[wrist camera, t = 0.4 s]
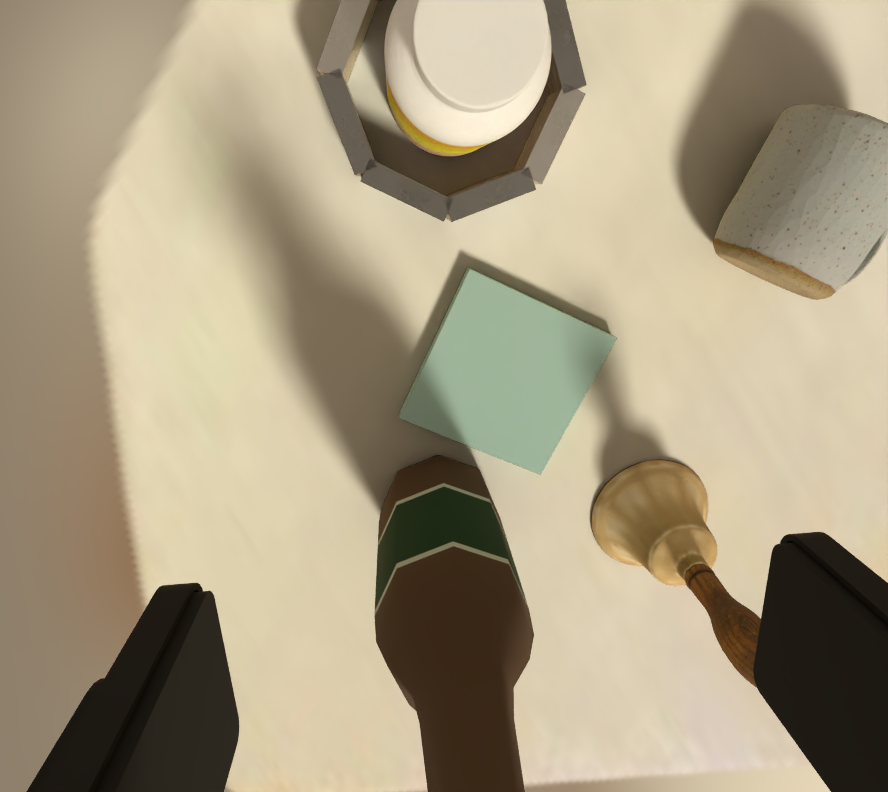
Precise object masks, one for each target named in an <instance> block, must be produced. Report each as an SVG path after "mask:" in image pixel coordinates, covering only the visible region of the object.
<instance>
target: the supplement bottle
mask: <svg viewBox="0 0 888 792" xmlns="http://www.w3.org/2000/svg"><path fill="white" fill-rule="evenodd" d="M384 58H385V69H386V88H387V97H388V103H389V107H390V110H391V113H392V115H393V118H394V120H395V122H396V124H397V125H398V127H399V128H400V130H401V131H402V132H403V134H404V135H405V136H406V137H407V138H408V139H409V140H410V141H411V142H412V143H414V144H415V145H416V146H418V147H419V148H421V149H423V150H425V151H427V152H429V153H432V154H435V155H440V156H460V155H464V154H468V153H470V152H473V151H475V150H477V149H479V148H481V147H483V146H485V145H487V144H489V143H491V142H494V141H496V140H498V139H500V138H502V137H504V136H505V135H507V134H508V133H510V132H511V131H513V130H514V129H515V128H517V127H518V126H519V125H520V124H521V123H522V122H523V121H524V120H525V119H526V118H527V117H528V116H529V114H530V113H531V112H532V110H533V109H534V107H535V106H536V104H537V102H538V101H539V99H540V97H541V95H542V92H543V90H544V87H545V85H546V82H547V78H548V75H549V70H550V64H551V35H550V29H549V24H548V17H547V12H546V8H545V4H544V1H543V0H397V1H396V3H395V5H394V8H393V10H392V12H391V15H390V18H389V22H388V26H387V30H386V35H385V46H384Z"/></svg>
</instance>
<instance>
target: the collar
mask: <svg viewBox="0 0 888 792" xmlns="http://www.w3.org/2000/svg"><path fill="white" fill-rule="evenodd" d="M380 1H383V0H341V2H340V5H339V8H338V10H337V13H336V16H335V19H334V21H333V24H332V27H331V30H330V32H329V35H328V38H327V41H326V44H325V46H324V49H323V52H322V55H321V57H320V60H319V63H318V66H317V69H318V71H319V72H320V74H321V75H322V76H319V77H317V79H318V82H319V84H320V87H321V89H322V92H323V95H324V97H325V100H326V102H327V105H328V107H329V110H330V113H331V115H332V118H333V120H334V123H335V125H336V128H337V131H338V133H339V136H340V138H341V141H342V143H343V146H344V148H345V151H346V154H347V156H348V159H349V161H350V164H351V166H352V169H353V172H354V174H355V175H356V176H359V175H362V174H363V177H362V179H361V182H363V183H365V184H367V185H369V186H371V187H373V188H375V189H377V190H379V191H381V192H384V193H386V194H388V195H390V196H392V197H394V198H396V199H398V200H400V201H402V202H404V203H406V204H408V205H411V206H413V207H415V208H417V209H419V210H421V211H423V212H425V213H427V214H429V215H431V216H433V217H435V218H437V219H440V220H442V221H444V220H445V218H447V219H448V220H449V221H451V222H453V221H455V220H458V219H461V218H463V217H466V216H468V215H471V214H474V213H476V212H479V211H481V210H484V209H487V208H489V207H492V206H494V205H497V204H500V203H502V202H505V201H508V200H510V199H513V198H515V197H518V196H521V195H523V194H526V193H528V192H531V191H534V190H536V188H535V185H534V184H542V183H543V181H544V178H545V176H546V174H547V172H548V170H549V168H550V166H551V164H552V162H553V160H554V158H555V156H556V154H557V152H558V150H559V148H560V145H561V143H562V141H563V139H564V137H565V135H566V133H567V131H568V129H569V127H570V125H571V123H572V121H573V119H574V117H575V115H576V112H577V110H578V108H579V106H580V104H581V102H582V100H583V98H584V96H585V93H583V92H581V91H579V90H578V89H580V88H582V87H584V86H585V85H586V81H585V77H584V73H583V69H582V65H581V61H580V57H579V53H578V49H577V45H576V41H575V37H574V33H573V29H572V25H571V21H570V17H569V13H568V9H567V5H566V1H565V0H543V1H544V4H545V8H546V12H547V17H548V24H549V29H550V35H551V64H550V70H549V75H548V78H547V82H546V85H545V88H546V92H547V95H548V97H547V99H546V101H545V103H544V105H543V108H542V110H541V112H540V114H539V116H538V118H537V120H536V122H535V125H534V127H533V129H532V131H531V133H530V135H529V137H528V140H527V142H526V144H525V146H524V148H523V150H522V152H521V154H520V157H519V159H518V161H517V163H516V165H515V167H514V169H513V170H512V171H509V172H506V173H504V174H501V175H499V176H496V177H493V178H491V179H488V180H486V181H483V182H480V183H478V184H475V185H473V186H470V187H467V188H465V189H462V190H460V191H457V192H454V193H452V194H449V195H447V196H445V195H443V194H441V193H439V192H437V191H435V190H433V189H431V188H429V187H427V186H425V185H422V184H420V183H418V182H416V181H414V180H412V179H410V178H408V177H406V176H404V175H402V174H400V173H398V172H396V171H394V170H392V169H390V168H388V167H386V166H384V165H382V164H380V163H378V162H376V160H375V158H374V155H373V152H372V150H371V147H370V144H369V142H368V139H367V136H366V134H365V131H364V128H363V126H362V123H361V120H360V118H359V115H358V112H357V110H356V107H355V104H354V102H353V99H352V96H351V94H350V91H349V88H348V86H347V83H348V80H349V77H350V75H351V72H352V69H353V67H354V64H355V61H356V59H357V56H358V53H359V51H360V48H361V45H362V43H363V40H364V38H365V35H366V32H367V30H368V27H369V24H370V22H371V19H372V16H373V14H374V11H375V8H376V6H377V3H378V2H380Z"/></svg>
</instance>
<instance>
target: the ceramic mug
mask: <svg viewBox="0 0 888 792" xmlns="http://www.w3.org/2000/svg"><path fill="white" fill-rule="evenodd" d="M887 233H888V123H886V122H884V121H881V120H879V119H877V118H875V117H872V116H870V115H867V114H864V113H861V112H857V111H853V110H846V109H842V108H839V107H836V106H831V105H818V104H801V105H794V106H791V107H788V108H787V109H785V110H784V111H783V112H782V113H781V114H780V116H779V118H778V120H777V121H776V123H775V125H774V127H773V129H772V130H771V132H770V134H769V136H768V138H767V139H766V141H765V143H764V145H763V146H762V148H761V150H760V152H759V153H758V155H757V157H756V159H755V160H754V162H753V164H752V166H751V168H750V170H749V171H748V173H747V175H746V177H745V179H744V181H743V182H742V184H741V186H740V188H739V190H738V192H737V193H736V195H735V196H734V198H733V200H732V201H731V203H730V204H729V206H728V208H727V209H726V211H725V213H724V215H723V217H722V219H721V221H720V224H719V227H718V229H717V232H716V234H715V238H714V241H713V246H714V249H715V252H716V254H717V255H718V256H720V257H721V258H723V259H724V260H726V261H728V262H729V263H731V264H733V265H735V266H737V267H739V268H741V269H743V270H745V271H747V272H749V273H751V274H753V275H755V276H757V277H759V278H761V279H763V280H765V281H768V282H770V283H772V284H774V285H776V286H779V287H781V288H783V289H786V290H788V291H791V292H793V293H796V294H798V295H801V296H803V297H807V298H810V299H815V300H819V299H824V298H827V297H830V296H832V295H833V294H834V293H835V292H836V291H837V290H839V289H840V288H841V287H842V286H843V285H845V284H847V283H849V282H850V281H852V280H853V279H854V278H855V277H856V276H858V275H859V274H860V273H861V272H862V271H863V270H864V269H865V267H866V266H867V265H868V264H869V263H870V261H871V260H872V259H873V258H874V256H875V255H876V253H877V252H878V250H879V249H880V247H881V245H882V243H883V241H884V240H885V238H886V235H887Z"/></svg>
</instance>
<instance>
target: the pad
mask: <svg viewBox="0 0 888 792" xmlns="http://www.w3.org/2000/svg"><path fill="white" fill-rule="evenodd" d="M616 339H617V338H616V337H614V336H613V335H611V334H609V333H607V332H605V331H603V330H601V329H599V328H597V327H594V326H592V325H590V324H588V323H586V322H584V321H582V320H580V319H577V318H575V317H573V316H571V315H569V314H567V313H565V312H562V311H560V310H558V309H556V308H554V307H552V306H550V305H548V304H545V303H543V302H541V301H539V300H537V299H535V298H533V297H531V296H528V295H526V294H524V293H522V292H520V291H518V290H516V289H513V288H511V287H509V286H507V285H505V284H503V283H501V282H499V281H496V280H494V279H492V278H490V277H488V276H486V275H484V274H482V273H479V272H477V271H475V270H473V269H471V268H469V267H468V268H467V270H466V272H465V274H464V276H463V278H462V280H461V283H460V285H459V287H458V289H457V291H456V293H455V295H454V298H453V300H452V302H451V304H450V306H449V308H448V310H447V312H446V315H445V317H444V319H443V321H442V323H441V325H440V327H439V330H438V332H437V334H436V336H435V338H434V340H433V342H432V344H431V347H430V349H429V351H428V353H427V355H426V357H425V359H424V362H423V364H422V366H421V368H420V370H419V372H418V374H417V376H416V379H415V381H414V383H413V385H412V387H411V389H410V391H409V394H408V396H407V398H406V400H405V402H404V404H403V406H402V409H401V411H400V419H402V420H405V421H407V422H410V423H412V424H415V425H417V426H420V427H422V428H425V429H427V430H430V431H432V432H435V433H437V434H440V435H442V436H445V437H447V438H450V439H452V440H455V441H457V442H460V443H462V444H465V445H467V446H469V447H472V448H474V449H477V450H479V451H482V452H484V453H487V454H489V455H492V456H494V457H497V458H499V459H502V460H504V461H507V462H509V463H512V464H514V465H517V466H519V467H522V468H524V469H527V470H529V471H532V472H534V473H537V474H539V475H541V473H542V471H543V470H544V468H545V466H546V464H547V462H548V461H549V459H550V457H551V455H552V454H553V452H554V450H555V448H556V446H557V445H558V443H559V441H560V439H561V437H562V436H563V434H564V432H565V430H566V428H567V427H568V425H569V423H570V421H571V420H572V418H573V416H574V414H575V412H576V411H577V409H578V407H579V405H580V403H581V402H582V400H583V398H584V396H585V395H586V393H587V391H588V389H589V387H590V386H591V384H592V382H593V380H594V378H595V377H596V375H597V373H598V371H599V370H600V368H601V366H602V364H603V362H604V361H605V359H606V357H607V355H608V353H609V352H610V350H611V348H612V346H613V345H614V343H615V341H616Z"/></svg>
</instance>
